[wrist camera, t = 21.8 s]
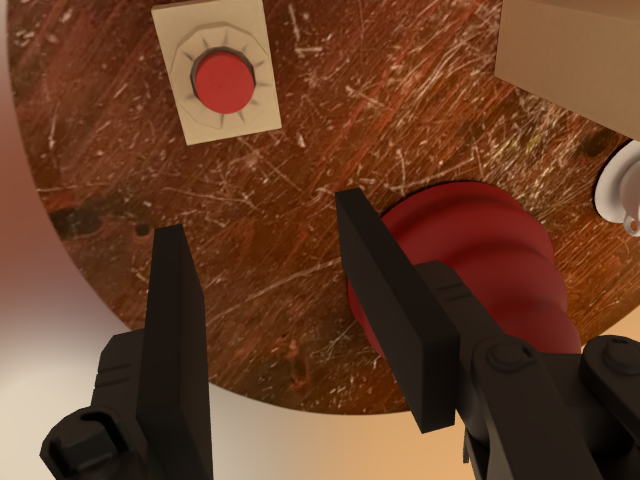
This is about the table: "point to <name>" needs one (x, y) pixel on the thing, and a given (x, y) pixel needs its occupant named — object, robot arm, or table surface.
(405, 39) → the table surface
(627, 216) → the teacup
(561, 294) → the table lamp
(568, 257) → the table surface
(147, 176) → the table surface
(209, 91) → the red push button
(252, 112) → the control block
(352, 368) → the table surface
